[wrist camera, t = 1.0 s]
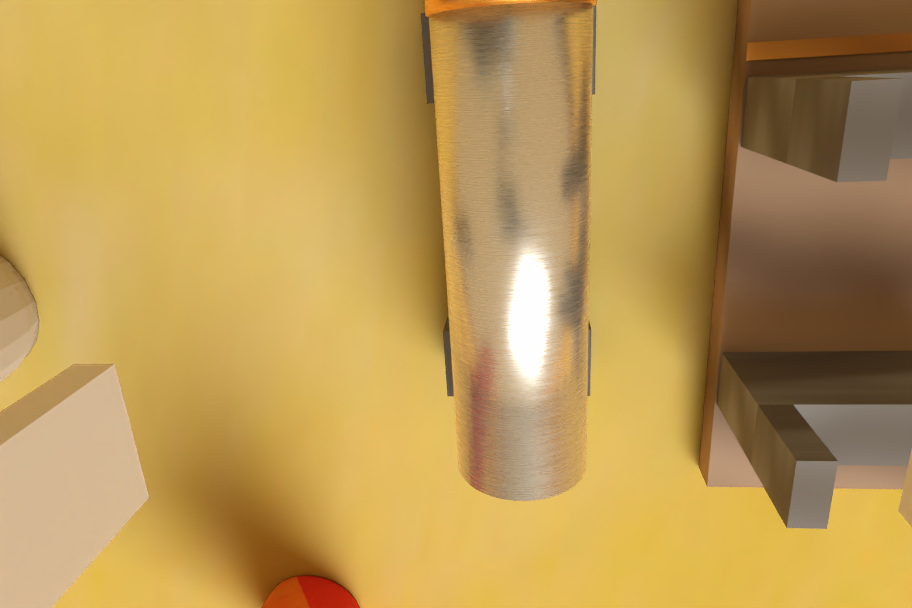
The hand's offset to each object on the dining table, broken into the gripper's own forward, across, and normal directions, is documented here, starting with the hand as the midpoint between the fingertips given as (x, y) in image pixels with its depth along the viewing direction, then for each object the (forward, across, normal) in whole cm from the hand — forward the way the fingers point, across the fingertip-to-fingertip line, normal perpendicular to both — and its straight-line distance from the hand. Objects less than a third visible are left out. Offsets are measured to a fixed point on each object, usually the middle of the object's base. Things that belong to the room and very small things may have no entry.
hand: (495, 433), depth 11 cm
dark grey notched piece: (+18, +13, -2) cm, 22 cm away
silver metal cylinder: (+15, 0, 0) cm, 15 cm away
